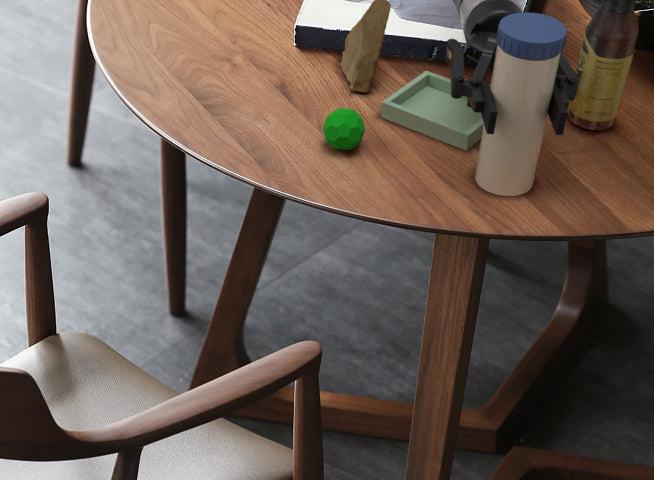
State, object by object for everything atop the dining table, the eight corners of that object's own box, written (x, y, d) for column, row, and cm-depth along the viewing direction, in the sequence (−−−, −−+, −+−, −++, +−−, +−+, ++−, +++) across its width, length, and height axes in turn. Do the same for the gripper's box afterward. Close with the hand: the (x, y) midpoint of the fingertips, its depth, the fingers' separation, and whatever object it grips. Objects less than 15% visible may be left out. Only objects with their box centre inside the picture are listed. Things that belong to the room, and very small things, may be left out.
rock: (385, 87, 137) (419, 47, 143) (349, 30, 134) (385, -9, 139) (326, 111, 146) (360, 72, 151) (291, 58, 142) (327, 19, 147)
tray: (508, 116, 138) (511, 101, 136) (466, 151, 131) (468, 135, 130) (424, 85, 143) (426, 70, 141) (380, 117, 137) (381, 101, 135)
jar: (543, 177, 127) (575, 29, 115) (515, 203, 123) (546, 52, 111) (492, 158, 130) (519, 11, 118) (464, 182, 126) (488, 33, 114)
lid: (576, 42, 116) (579, 26, 114) (542, 66, 111) (545, 49, 110) (517, 22, 119) (520, 5, 117) (483, 45, 115) (485, 28, 113)
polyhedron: (354, 161, 129) (357, 126, 126) (316, 151, 130) (318, 116, 127) (368, 141, 132) (371, 106, 129) (331, 132, 134) (333, 97, 131)
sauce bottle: (575, 103, 140) (610, -48, 127) (622, 117, 138) (662, -36, 125) (557, 125, 136) (591, -29, 123) (605, 139, 134) (645, -16, 120)
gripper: (567, 55, 136) (610, 154, 119) (411, 53, 135) (431, 152, 118) (580, -2, 130) (626, 93, 114) (417, -5, 130) (440, 90, 113)
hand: (527, 123), depth 116 cm, fingers closed on jar, 7 cm apart
